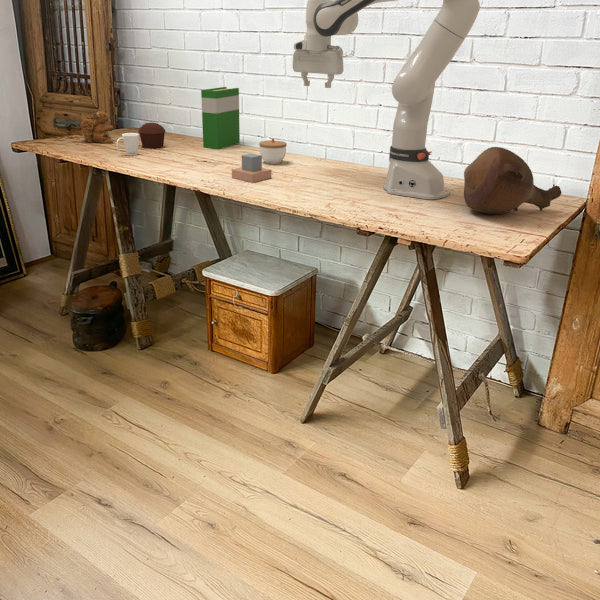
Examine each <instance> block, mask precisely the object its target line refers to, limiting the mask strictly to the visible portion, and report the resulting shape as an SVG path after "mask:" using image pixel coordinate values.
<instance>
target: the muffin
mask: <svg viewBox="0 0 600 600" xmlns="http://www.w3.org/2000/svg"><path fill="white" fill-rule="evenodd" d="M137 132H138V134H139V139H140V143H141V147H142V148H143V147H144V148H143V149H147V148H153V149H156V148H157V149H161V148H164V144H165V133H166V132H167V131H166V129H165V128H164V127H163V126H162V125H161V124H159V123H157V122H145V123H144V124H142V125H141V126H140V127H139V129H138V131H137ZM157 149H156V150H157Z"/></svg>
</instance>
